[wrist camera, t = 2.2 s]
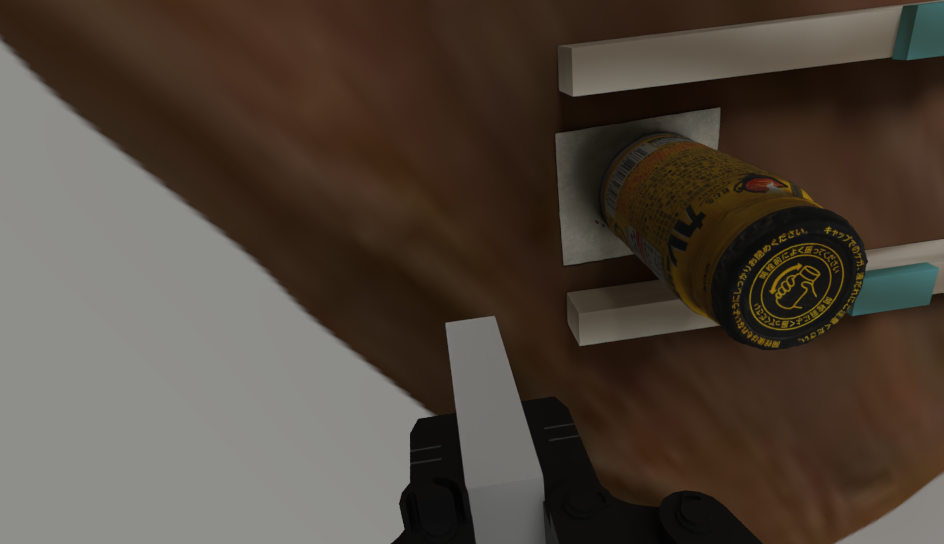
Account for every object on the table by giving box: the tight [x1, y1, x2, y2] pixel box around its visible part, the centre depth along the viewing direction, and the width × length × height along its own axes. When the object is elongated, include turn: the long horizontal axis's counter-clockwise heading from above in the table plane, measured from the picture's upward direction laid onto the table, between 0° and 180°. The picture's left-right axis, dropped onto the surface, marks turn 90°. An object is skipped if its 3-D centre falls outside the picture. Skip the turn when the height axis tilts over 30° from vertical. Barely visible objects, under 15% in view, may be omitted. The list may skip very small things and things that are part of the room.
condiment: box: [555, 108, 868, 350], centre depth 24 cm, size 7×8×12 cm
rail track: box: [557, 0, 944, 346], centre depth 28 cm, size 15×27×3 cm, turn 96°
